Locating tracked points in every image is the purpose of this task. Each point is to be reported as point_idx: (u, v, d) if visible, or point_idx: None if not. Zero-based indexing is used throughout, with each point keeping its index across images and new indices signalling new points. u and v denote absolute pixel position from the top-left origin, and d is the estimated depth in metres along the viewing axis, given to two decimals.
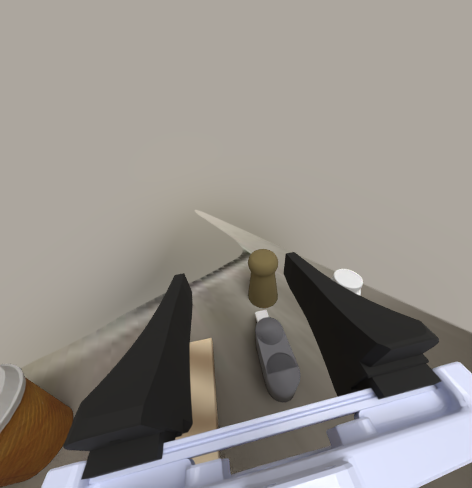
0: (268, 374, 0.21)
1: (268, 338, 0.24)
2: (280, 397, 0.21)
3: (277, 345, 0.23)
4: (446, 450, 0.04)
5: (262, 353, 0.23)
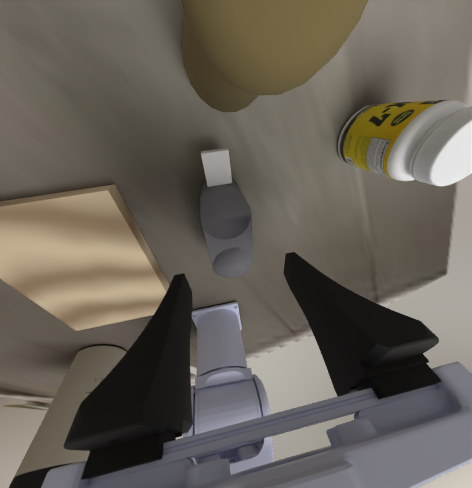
0: (214, 267, 0.16)
1: (221, 231, 0.14)
2: None
3: (234, 239, 0.15)
4: (446, 450, 0.04)
5: (209, 248, 0.15)
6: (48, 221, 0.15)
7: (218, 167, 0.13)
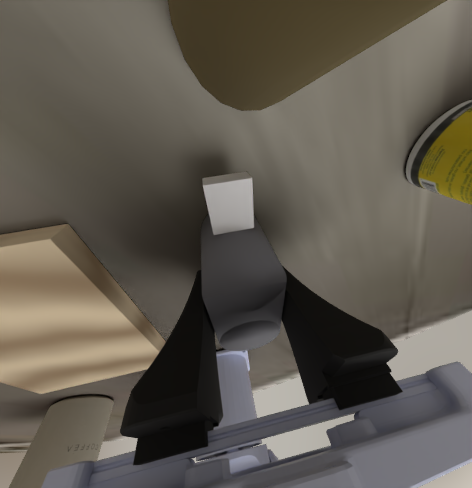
0: (222, 343, 0.11)
1: (236, 305, 0.09)
2: None
3: (255, 313, 0.09)
4: (446, 450, 0.04)
5: (215, 325, 0.10)
6: None
7: (232, 206, 0.07)
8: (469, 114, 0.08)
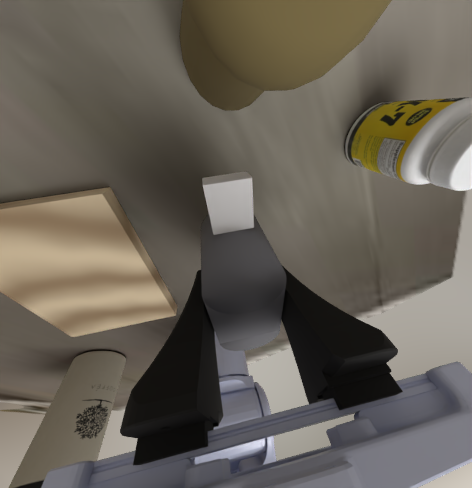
0: (222, 343, 0.11)
1: (236, 304, 0.09)
2: None
3: (254, 312, 0.09)
4: (446, 450, 0.04)
5: (215, 325, 0.10)
6: (40, 226, 0.14)
7: (232, 205, 0.07)
8: (374, 113, 0.13)
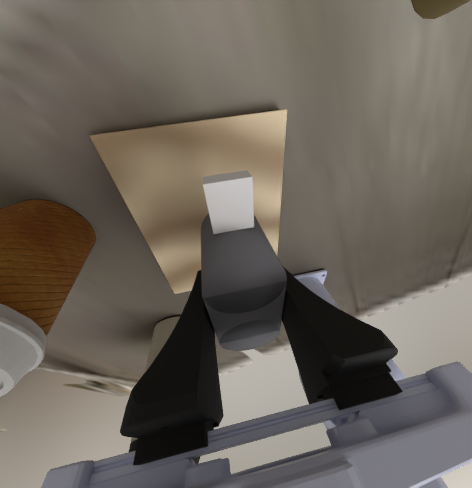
0: (222, 343, 0.11)
1: (236, 304, 0.09)
2: None
3: (255, 312, 0.09)
4: (446, 450, 0.04)
5: (215, 324, 0.09)
6: (213, 148, 0.13)
7: (232, 205, 0.07)
8: None
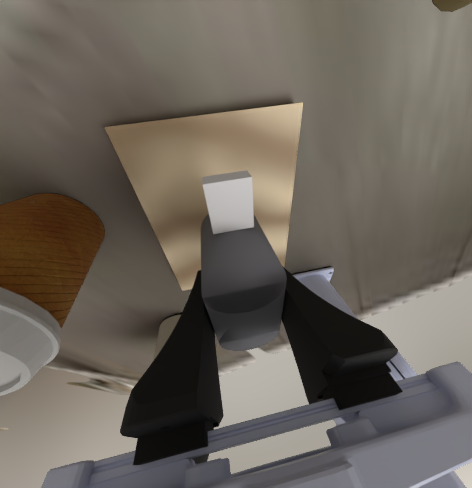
0: (222, 343, 0.11)
1: (236, 304, 0.09)
2: None
3: (254, 312, 0.09)
4: (446, 450, 0.04)
5: (215, 324, 0.09)
6: (227, 141, 0.13)
7: (232, 205, 0.07)
8: None
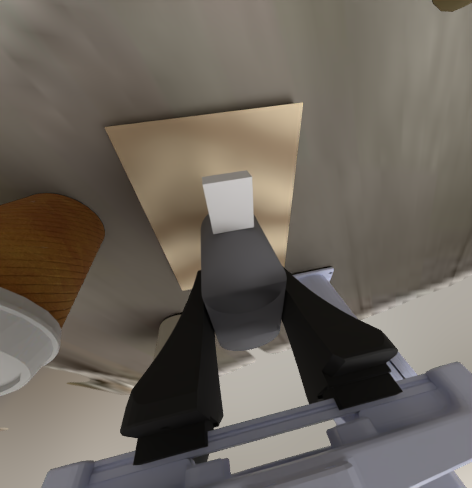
0: (222, 343, 0.11)
1: (236, 304, 0.09)
2: None
3: (254, 312, 0.09)
4: (446, 450, 0.04)
5: (215, 324, 0.09)
6: (227, 141, 0.13)
7: (232, 205, 0.07)
8: None
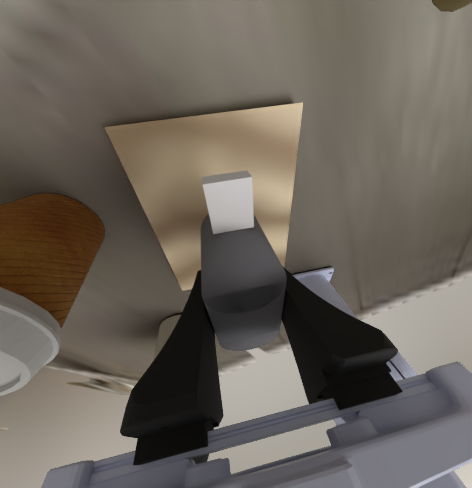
0: (222, 343, 0.11)
1: (236, 304, 0.09)
2: None
3: (254, 312, 0.09)
4: (446, 450, 0.04)
5: (215, 324, 0.09)
6: (227, 141, 0.13)
7: (232, 205, 0.07)
8: None
